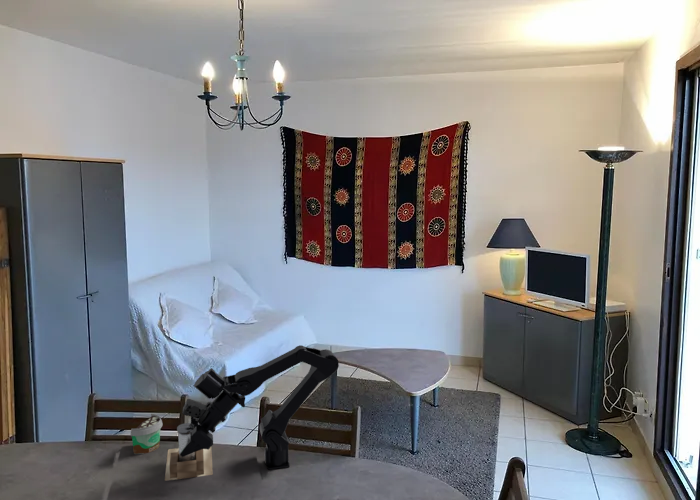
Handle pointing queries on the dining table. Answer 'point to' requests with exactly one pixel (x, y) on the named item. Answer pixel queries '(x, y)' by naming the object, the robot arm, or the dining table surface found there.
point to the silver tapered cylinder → (185, 440)
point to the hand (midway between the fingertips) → (181, 448)
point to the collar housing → (188, 465)
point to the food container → (147, 435)
